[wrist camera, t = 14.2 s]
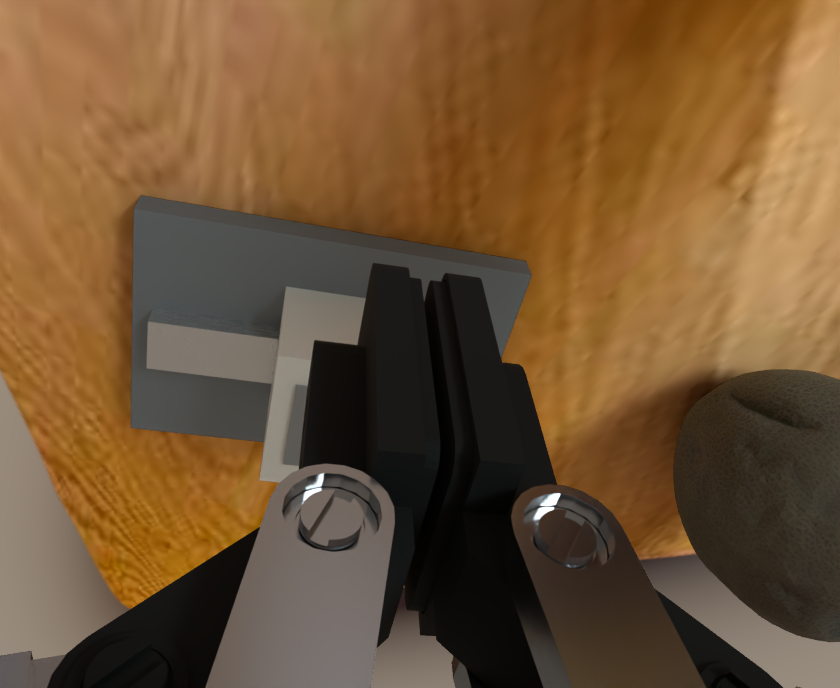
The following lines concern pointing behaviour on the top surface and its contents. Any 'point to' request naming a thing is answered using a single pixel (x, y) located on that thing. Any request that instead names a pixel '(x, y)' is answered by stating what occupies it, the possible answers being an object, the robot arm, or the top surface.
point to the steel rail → (211, 346)
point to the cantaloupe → (767, 494)
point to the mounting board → (264, 297)
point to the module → (301, 369)
